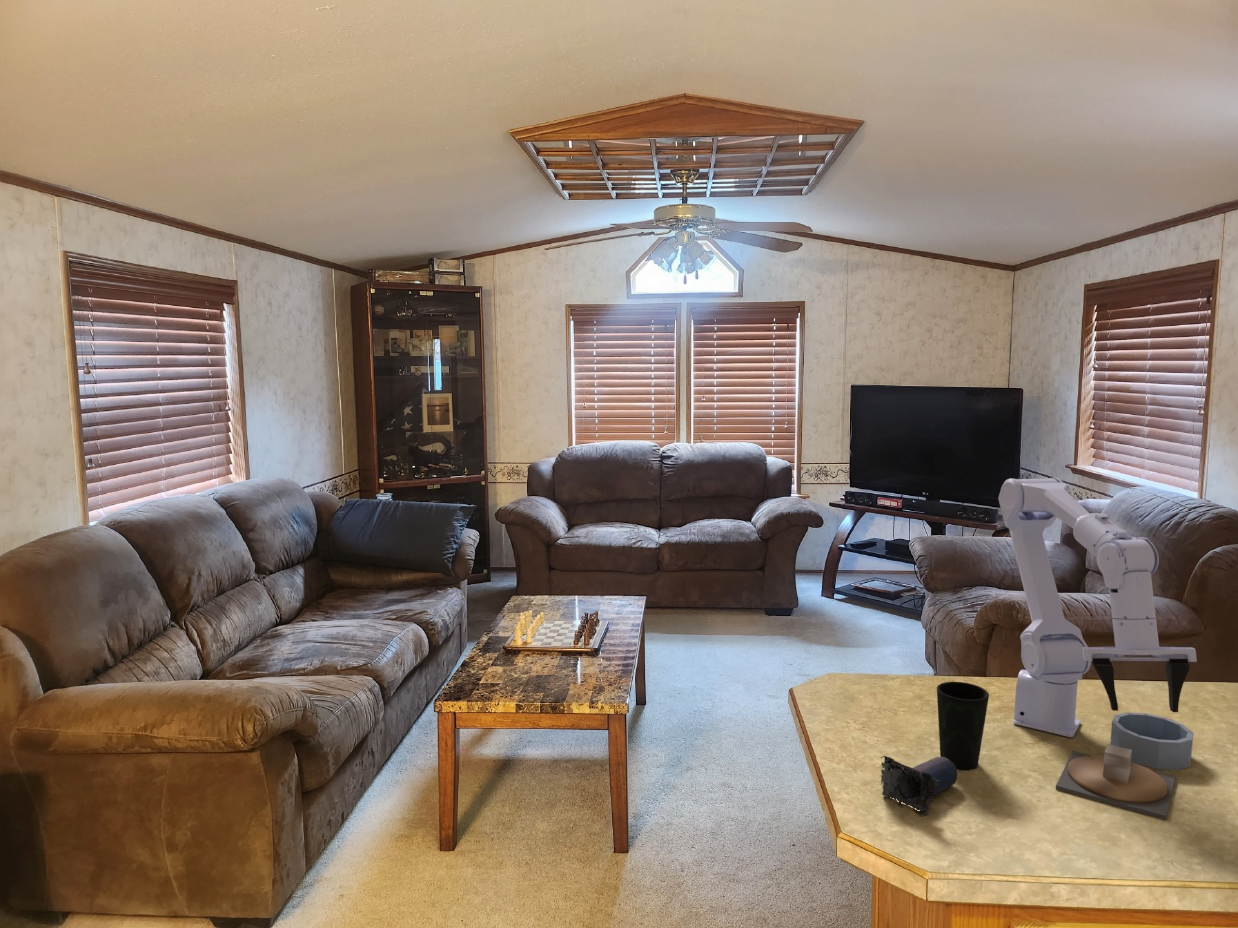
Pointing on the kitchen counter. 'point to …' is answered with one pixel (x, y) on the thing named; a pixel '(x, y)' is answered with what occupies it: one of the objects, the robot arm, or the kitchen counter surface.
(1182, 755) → the bowl
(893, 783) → the dark blue flanged cylinder
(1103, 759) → the lid
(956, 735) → the cup
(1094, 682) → the kitchen counter surface
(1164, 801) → the mat
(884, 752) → the kitchen counter surface
